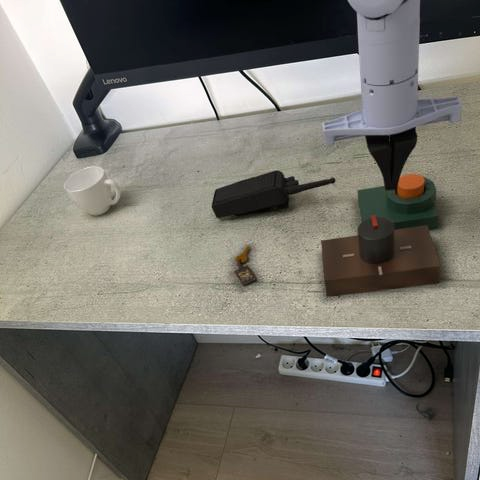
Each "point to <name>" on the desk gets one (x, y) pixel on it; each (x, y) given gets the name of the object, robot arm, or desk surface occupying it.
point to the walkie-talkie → (259, 194)
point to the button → (410, 186)
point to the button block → (400, 206)
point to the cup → (92, 190)
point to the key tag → (244, 269)
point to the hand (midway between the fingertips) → (390, 185)
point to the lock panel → (380, 264)
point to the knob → (376, 239)
